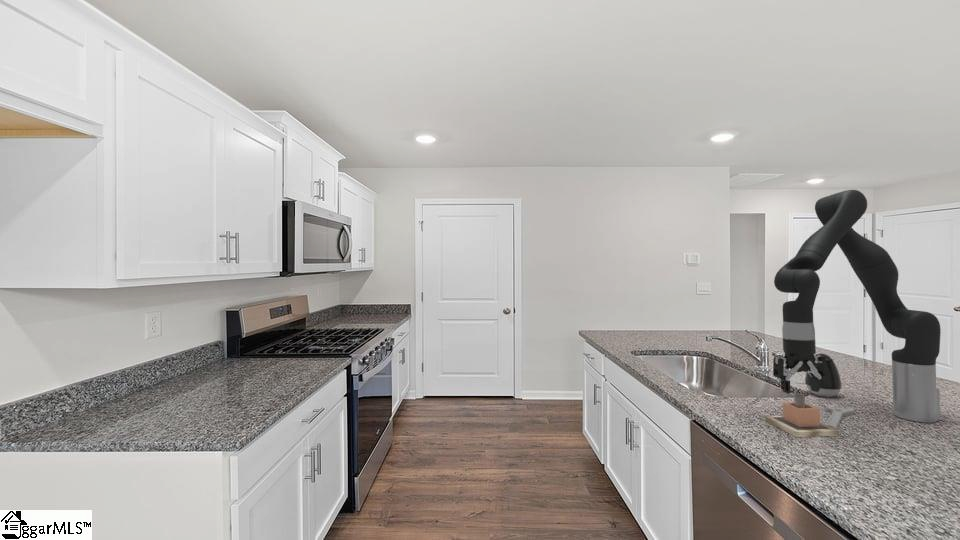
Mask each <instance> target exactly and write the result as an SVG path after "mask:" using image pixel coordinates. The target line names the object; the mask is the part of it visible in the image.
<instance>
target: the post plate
mask: <svg viewBox="0 0 960 540" xmlns="http://www.w3.org/2000/svg"><path fill="white" fill-rule="evenodd" d="M793 396H794V397H793V399H794V400H793V402H794V405H795V407H798V408H805V403H806V402H805V401H806V398H805V394H804V393H800V392H799V393H798V392H797V393H796V392H795V393H794V395H793ZM764 421H765V422H766V423H768V424H769V425H772V426H774V427H775V428H777V427H778V428H777V429H779V428H780V430H781V429H782V431H783V432H786V433H787V434H789V435H791V436H793V437H794V438H797V437H799V438H815V437H814V436H829V437H839V436H840V431H839V430H838V429H837V430H836V429H834V428H831V427H829V426H827V425H825V423H823V422H820V426H812V427H799V426H796V425H794V424H792V423H790V422H788V421H786V420H784V419H783V415H768V416H767V415H765V416H764Z"/></svg>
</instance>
